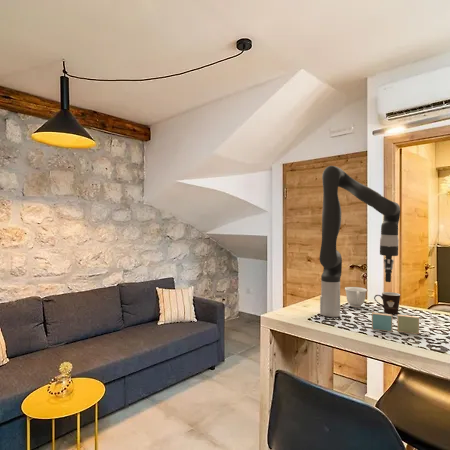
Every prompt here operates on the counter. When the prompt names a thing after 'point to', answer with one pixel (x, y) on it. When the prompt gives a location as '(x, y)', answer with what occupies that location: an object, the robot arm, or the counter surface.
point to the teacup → (355, 296)
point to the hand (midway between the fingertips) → (388, 280)
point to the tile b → (408, 324)
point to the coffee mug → (390, 302)
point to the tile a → (382, 322)
